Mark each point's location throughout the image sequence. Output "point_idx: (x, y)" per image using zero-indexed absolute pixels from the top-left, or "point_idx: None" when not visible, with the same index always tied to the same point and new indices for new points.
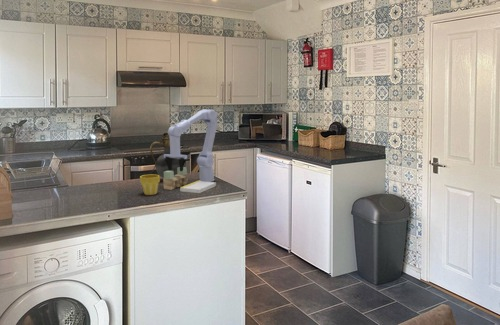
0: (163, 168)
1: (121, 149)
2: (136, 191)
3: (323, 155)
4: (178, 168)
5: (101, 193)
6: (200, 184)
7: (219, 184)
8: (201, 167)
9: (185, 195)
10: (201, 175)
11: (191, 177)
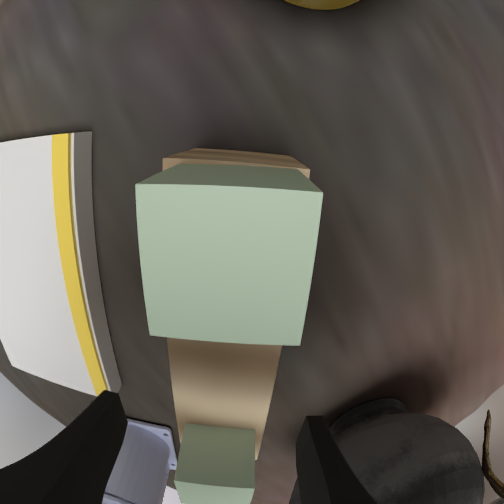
0: (419, 460)
1: (499, 501)
2: (465, 35)
3: None
4: (237, 482)
5: None
6: (27, 307)
7: (36, 384)
8: (112, 498)
9: (18, 47)
10: (128, 455)
11: (265, 481)
